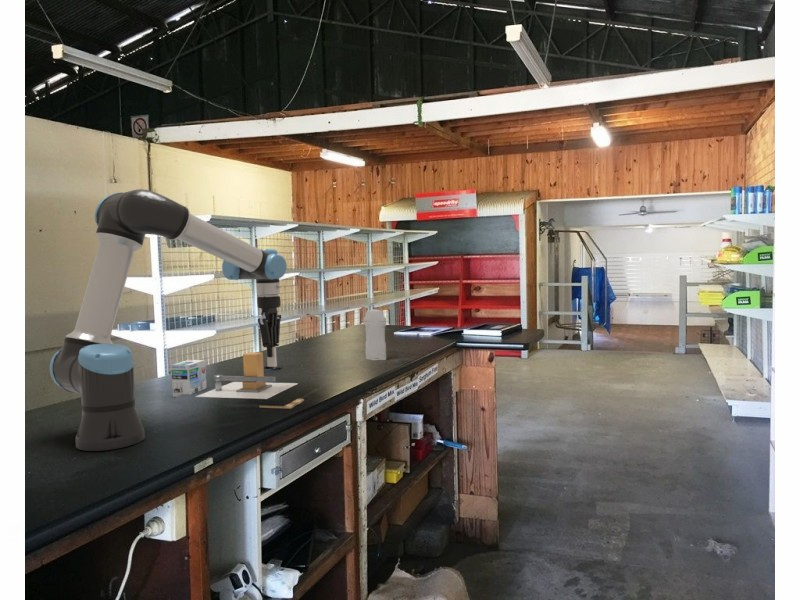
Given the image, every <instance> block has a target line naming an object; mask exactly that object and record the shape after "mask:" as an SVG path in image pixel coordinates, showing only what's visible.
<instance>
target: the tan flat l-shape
mask: <svg viewBox="0 0 800 600" xmlns="http://www.w3.org/2000/svg"><path fill="white" fill-rule="evenodd" d="M303 402H305V399H304V398H295V399H292V401H289V402H288V403H286V404H263V403H262V404H260V405H259V409H260V408H261V409H262V408H265V409H266V408H267V409H293V408H294V407H296V406H298V405H300V404H302V403H303Z"/></svg>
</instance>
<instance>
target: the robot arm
mask: <svg viewBox="0 0 800 600" xmlns="http://www.w3.org/2000/svg"><path fill="white" fill-rule="evenodd" d="M94 220H95V223H96V226H97V228H96V231H95V237H96V238H97V240H98V241H99V244H98V248H97V252H96V255H95V258H94V262H93V265H92V268H91V272H90V275H89V279H88V282H87V286H86V288H85V289H86V290H85V293H84V294H83V295H84V296H83V300H82V302H81V306H80V310H79V313H78V316H77V320H76V324H75V327H74V330H73V331H72V332H70V333H68V334H66V335H65V338H64V340H63V343H62V346H61V348H60V349H58V350H57V351H56V352H55V354H54V355H53V356H52V357H51V359H50V363H49V374H50V377H51V379H52V381H53V382H54V384H56V385H57V387H59V388H61V389H63V390H64V391H66V392H68V393H73V394H79V395H80V397H81V398H80V399H81V417H80V421H79V423H78V424H79V425H78V429H77V434H76V435H75V448H76V449H77V450H81V451H86V452H101V451H110V450H111V451H112V450H117V449H122V448H125V447H129V446H133V445H136V444H138V443H141V442H142V441H143V440H144V439H145V438H146V436H145V433H146V431H145V427H144V425H143V424H142V421H141V417H140V416H139V414H138V411H137V409H136V391H135V372H134V366H135V360H134V355H133V351H132V349H130V347H129V346H126V345H124V344H118V343H116V344H115V343H113V341H112V340H111V335H112V332H113V328H114V325H115V321H116V318H117V316H118V315H117V314H118V310H119V307H120V303H121V300H122V296H123V294H124V289H125V287H126V284H127V283H126V282H127V279H128V275H129V271H130V268H131V264H132V261H133V258H134V254H135V252H136V251H139V250H140V249H142V247H143V244H144V241H145V237H146V235H155V236H160V237H163V238H166V239H168V240H170V241H174V240H178V241H179V240H180V241H181V242H184V243H185V244H188V245H190V246H192V247H195V248H197V249H199V250H201V251H203V252H205V253H207V254H210V255H211V256H214V257H216V258H218V259H220V260H223V261H222V263H221V269H222V270H221V271H222V274H223V276H224V278H225V279H227V280H229V281H231V280H232V281H238V280H256V281H255V282H256V296H258V297H257V298H256V299H257V300H256V303H257V308H258V309H261V314H260V315H261V317H259V318H257V322H258V326H259V330H260V336H261V342H262V347H263V348H266V360H267V361H266V363H267V367H269V368H273V367H274V368H275V367H278V362H277V347H279V346H280V344H279V343H280V334H281V332H280V331H281V322H282V315H281V314H278V313H279V312H278V308H281V302H282V301H281V296H280V294H281V285H280V279H281V278H282V277H284V275H285V274H286V273H287V267H288V264H287V260H286V259H285V258H284V256H283V255H281V254H279V252H278V250H276V249H275V248H264V249H261V248H259V247H256V246H254V245H252V244H250V243H248V242H246V241H244V240H242V239H240V238H238V236H237V237H236V236H234V235H233V234H231V233H229V232H226V231H225V230H223V229H221V228H219V227H217V226H215V225H213V224H211V223H209V222H207V221H205V220H204V219H202V218H199V217H198V216H195V215H194V214H191V212H190V210H189V208H188V207H187V206H185V205H183V204H182V203H181V204H180V203H179V202H177V201H174V200H173V199H171V198H169V197H167V196H165V195H162V194H160V193H158V192H155V191H153V190H149V189H143V188H140V189H132V190H129V191H125V192H122V191H121V192H116V193H112V194H109V195H108V196H106V197H105V198H103V199H102V200H100V202H99V203H98V204H97V206H96V209H95V212H94Z"/></svg>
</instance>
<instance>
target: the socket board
mask: <svg viewBox="0 0 800 600" xmlns="http://www.w3.org/2000/svg"><path fill="white" fill-rule="evenodd" d="M214 382H215V383H214V386H215V388H213V389H211V390H208V391H206V392H204V393H203V392H202V393H201V394H198V395H195V396H194V397H195V398H224V399H225V398H226V399H250V400H251V399H252V400H253V399H257V400H268V399H270V398H272V397H274V396H276V395H278V394H280V393H282V392H284V391H286V390H288V389H290V388H292V387H294V386H296V385H298V384H299V383H296V382H266V386H265V387H263V388H261V389H259V390H243V384H242V382H243V381H231V382H230V383H227V384H225V385H222V381H214Z"/></svg>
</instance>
